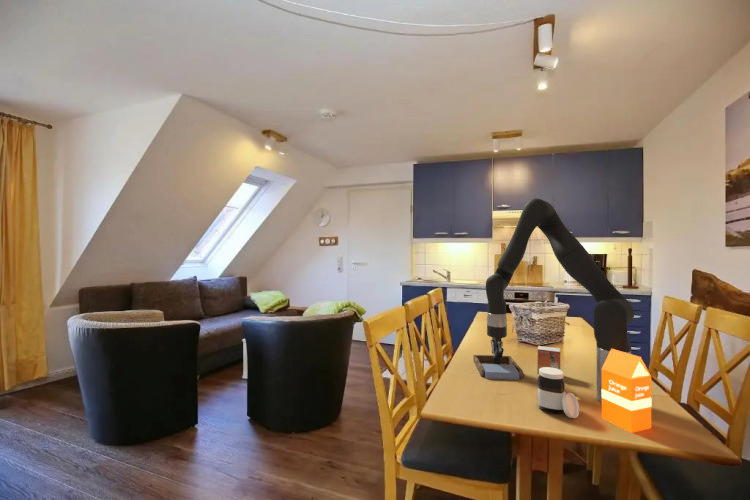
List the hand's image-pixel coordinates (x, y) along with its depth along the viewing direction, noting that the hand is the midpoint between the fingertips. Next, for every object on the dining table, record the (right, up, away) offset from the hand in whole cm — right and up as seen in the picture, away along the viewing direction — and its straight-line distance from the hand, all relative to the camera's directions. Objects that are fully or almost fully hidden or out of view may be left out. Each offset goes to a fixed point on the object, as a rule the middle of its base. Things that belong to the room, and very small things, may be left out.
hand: (496, 367), depth 142 cm
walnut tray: (0, -2, 0) cm, 2 cm away
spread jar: (+7, -2, -34) cm, 35 cm away
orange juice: (+22, -2, -42) cm, 47 cm away
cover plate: (-1, -1, -6) cm, 6 cm away
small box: (+18, -2, -5) cm, 19 cm away
